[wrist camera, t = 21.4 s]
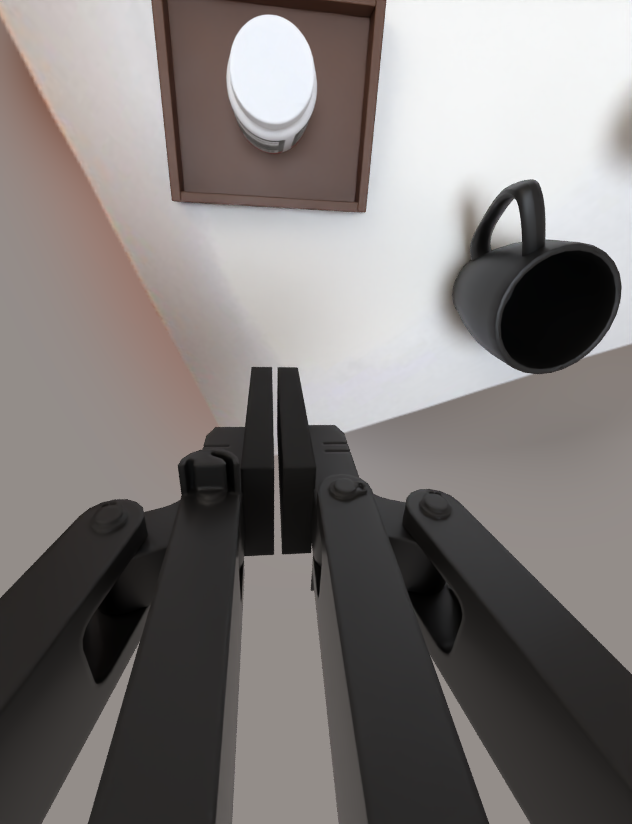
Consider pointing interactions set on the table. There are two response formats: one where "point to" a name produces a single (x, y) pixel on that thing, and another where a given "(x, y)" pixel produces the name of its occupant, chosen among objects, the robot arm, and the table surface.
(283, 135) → the pill bottle
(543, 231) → the mug
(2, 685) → the robot arm
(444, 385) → the table surface
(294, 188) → the tray
